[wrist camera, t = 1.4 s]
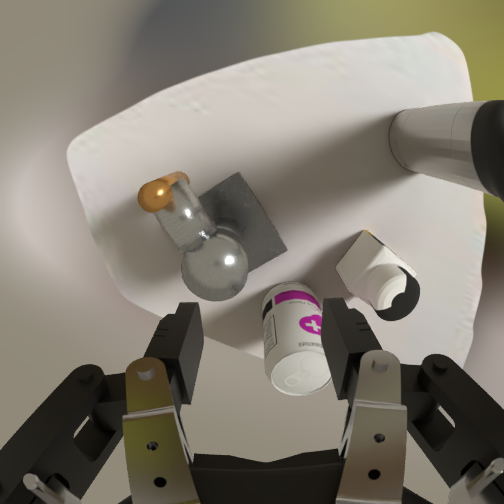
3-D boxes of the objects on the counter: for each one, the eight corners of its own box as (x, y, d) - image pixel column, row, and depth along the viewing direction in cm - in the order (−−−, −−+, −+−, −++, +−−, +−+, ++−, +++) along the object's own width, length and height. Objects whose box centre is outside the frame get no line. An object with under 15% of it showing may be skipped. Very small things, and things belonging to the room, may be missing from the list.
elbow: (258, 253, 35) (260, 291, 26) (214, 279, 36) (203, 321, 28) (195, 157, 31) (173, 163, 22) (151, 189, 32) (117, 206, 24)
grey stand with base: (238, 171, 36) (235, 178, 29) (286, 247, 40) (293, 270, 33) (164, 221, 38) (145, 238, 31) (213, 289, 42) (206, 317, 35)
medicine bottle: (396, 254, 40) (436, 292, 29) (367, 290, 42) (397, 337, 31) (364, 228, 39) (402, 261, 28) (333, 267, 41) (359, 312, 30)
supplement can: (293, 268, 41) (312, 332, 27) (326, 305, 43) (353, 373, 29) (250, 302, 43) (249, 373, 29) (285, 335, 45) (295, 407, 31)
